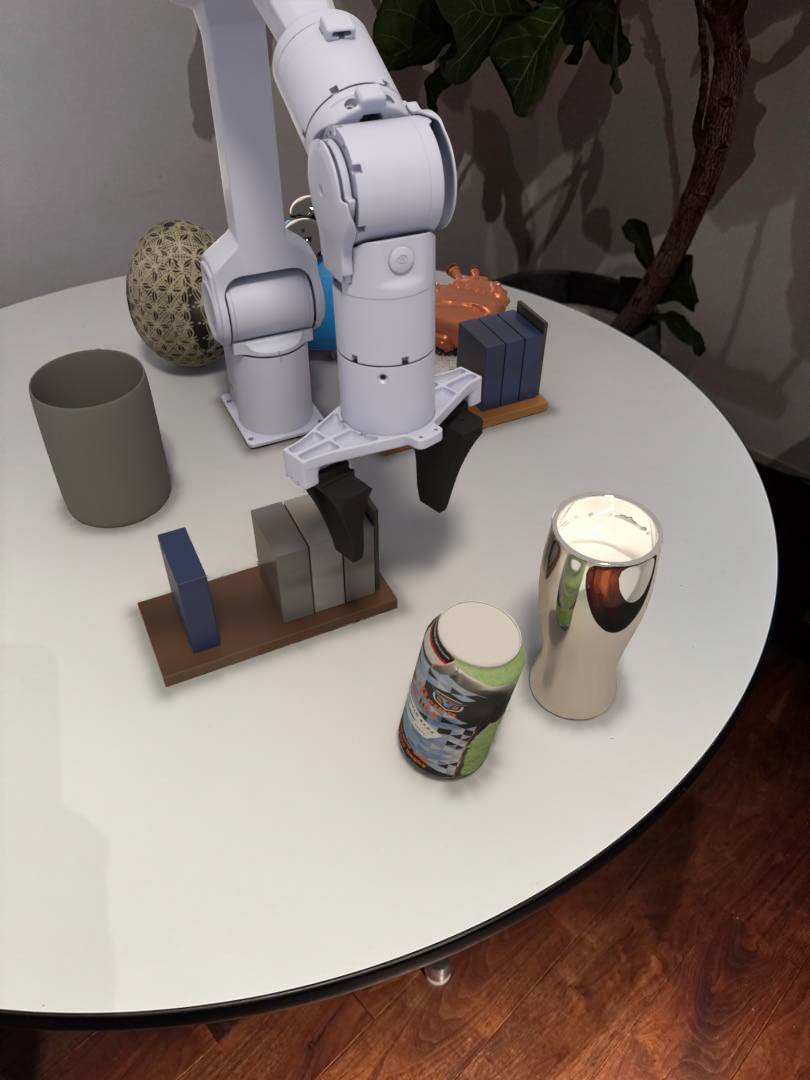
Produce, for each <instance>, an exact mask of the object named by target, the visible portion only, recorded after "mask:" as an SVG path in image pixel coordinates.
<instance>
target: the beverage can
mask: <svg viewBox="0 0 810 1080" xmlns="http://www.w3.org/2000/svg"><path fill="white" fill-rule="evenodd" d="M525 660H526V649H525V646H524V643H523V638H522V633H521V629H520V627H519V625H518V623H517V622H516V620H514V618H513V617H512V616H511V615H510V614H509V613H508V612H507V611H505V610H504V609H503V608H502V607H499V606H498V605H496V604H493V603H490V602H487V601H483V600H476V599H465V600H460V601H457V602H454V603H452V604H450V605H449V606H448V607H446V608H445V609H444V610H443V611H442V612H441V613H439V614H438V615H437V616H435V617H434V618H433V619H432V620H431V621H430V623H429V624H428V625H427V627H426V630H425V632H424V635H423V639H422V642H421V646H420V649H419V652H418V655H417V660H416V664H415V667H414V671H413V674H412V677H411V682H410V684H409V688H408V692H407V695H406V698H405V699H406V700H405V702H404V705H403V706H404V707H403V710H402V714H401V717H400V721H399V725H398V740H399V744H400V746H401V749H402V751H403V753H404V754H405V756H406V757H407V758H408V760H409V761H410V762H411V763H412V764H413V765H414V766H416V767H417V768H418V769H420V770H421V771H424V773H427V774H429V775H432V776H436V777H440V778H451V779H452V778H460V777H464V776H467V775H469V774H471V773H473V772H474V771H475V770H477V769H478V768H479V767H480V766H482V764H483V763H484V761H485V760H486V758H487V756H488V754H489V752H490V749H491V746H492V744H493V742H494V739H495V736H496V734H497V732H498V730H499V727H500V725H501V722H502V720H503V717H504V716H505V713H506V711H507V708H508V706H509V704H510V701H511V698H512V696H513V693H514V691H515V688H516V686H517V684H518V681H519V679H520V676H521V674H522V672H523V669H524V666H525Z"/></svg>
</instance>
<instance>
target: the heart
mask: <svg viewBox="0 0 810 1080" xmlns="http://www.w3.org/2000/svg"><path fill="white" fill-rule="evenodd" d="M481 272H482V271H481V268H480V267H479V266H476V265H474V266H472V267H470V268H469V270H468V274H469V276H463V275H462V272H461V269H460V265H459V264H458V263H455V262H453V263H451V264H449V265H448V266H447V267H446V270H445V273H446V275H447V276H448V277H450V278H451V279H454V280H453V282H452V283H448V284H440V283H439V282H438V281H436V284H435V348H438V349H441V350H443V352H445V353H449V352H451V351H454V350H456V349H457V348H458V330H459V322H462V321H466V320H471V319H475V318H477V319H478V318H480V317H484V316H488V315H493V314H496V315H497V313H501V312H505V311H507V310H506V309H507V307H508V306H509V304H511V299H510V297H508V290H507V289H506V288H505V289H504V287H503V286H502V283H501V282H500V281H499V280H496V281H491V280H490V279H489V278H488V277H487V276H482V275H481Z"/></svg>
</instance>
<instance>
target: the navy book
mask: <svg viewBox="0 0 810 1080" xmlns="http://www.w3.org/2000/svg"><path fill="white" fill-rule="evenodd" d="M157 539H158V545H159V548H160V552H161V557H162V560H163V564H164V568H165V572H166V577H167V580H168V585H169V588H170V593H172V597H173V601H174V604H175V607H176V610H177V612H178V615H179V617H180V620H181V622H182V625H183V628H184V630H185V633H186V635H187V638H188V641H189V643H190V646H191V648H192V651H193V653H197V652H200V651H203V650H206V649H209V648H212V647H215V646H218V645H220V639H219V634H218V629H217V625H216V620H215V615H214V610H213V605H212V600H211V595H210V590H209V585H208V581H209V580H208V576H207V573H206V571H205V569H204V567H203V565H202V562H201V561H200V560H201V559H200V558H199V556H198V553H197V551H196V549H195V546H194V543H193V542H192V540H191V538H190V535H189V532H188V530H187V528H186V527H185V526H183V527H180V528H176V529H172V530H170V531H166V532H162V533H159V534H157Z"/></svg>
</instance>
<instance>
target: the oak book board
mask: <svg viewBox="0 0 810 1080" xmlns="http://www.w3.org/2000/svg"><path fill="white" fill-rule="evenodd" d="M548 326H549V322H548V321H547V320H545V318H544V317H542V316H541V315H540V314H539V313H537V312H536V311H534V310H533V308H531V307H530V306H529V305H528V304H526V303H525V302H524V301H523V300H521V299H520V300H519V299H518V300H517V302H516V309H510V310H506V311H505V312H501V313H497V315H496V314H493V315H488V316H484V317H480V318H478V319H477V318H475V319H471V320H466V321H462V322H459V330H458V348H456V349H457V350H456V367H455V369H456V368H458V367H463V368H465V369H467V370H469V371H471V372H473V373H475V374H477V375H480V376H481V377H482V384H481V402H480V403H478V404H476V405H474V406H471V407H468V410H469V411H471V412H472V413H474V414H476V415H478V416H480V417H481V418H482V419H483V429H485V428H489V427H493V426H497V425H499V424H504V423H507V422H510V421H515V420H518V419H522V418H525V417H529V416H532V415H536V414H539V413H543V412H546V411H548V407H549V401H548V400H547V399H545V397H543V396H542V395H541V394H540V388H541V381H542V374H543V373H542V372H543V366H544V359H545V351H546V343H547V335H548V328H549V327H548ZM410 449H414V447H412V446H410V445H407V446H403V447H399V448H394V449H390V450H386V451H382V452H380V454H381V455H382V456H383V457H385V456H389V455H392V454H396V453H399V452H404V451H406V450H410Z"/></svg>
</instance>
